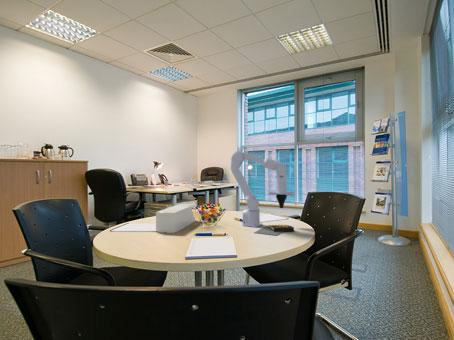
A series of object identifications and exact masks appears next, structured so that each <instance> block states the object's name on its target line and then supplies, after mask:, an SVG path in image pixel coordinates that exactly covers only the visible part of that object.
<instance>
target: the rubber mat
mask: <svg viewBox="0 0 454 340" xmlns="http://www.w3.org/2000/svg"><path fill="white" fill-rule="evenodd" d="M283 232H284V231H277V232H274V231H273V230H272V229H271V228H270V227H269V226H267V225H265V226H263V227H262V228H260V229H258V230H256V231H255V232H254V234H260V235H268V236H275V237H277V236H279V235H280V234H282V233H283Z"/></svg>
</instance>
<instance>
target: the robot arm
mask: <svg viewBox="0 0 454 340" xmlns="http://www.w3.org/2000/svg"><path fill="white" fill-rule="evenodd" d="M230 158H231V159H230V160H231V161H230V171H231V173H232V175H233V178H234V179H235V180H236V182H237V184H238V186H239V188H240V190H241V192H242V194H243V196H244V198H245V202H246V207H247V209H243V210H242V227H243V226H244V227H252V228H253V227H254V228H258V227H260V226H262V225H263V223H261V222H260V221H261V218H260V215H261V214H260V212H261V210H260V208H259V205H260V201H259V199H258V198H257V197H256V196H255V195H254V193H253V192H252V190H251V188H250V187H249V184H248V183H247V181H246V179H245V176H244V175H243V173H242V171H241V166H242V163H243V162H248V161H251V162H255V163H258V164H260V165H262V167H263V168H265V169H268V170H270V171H274V172H275V171H276V176H275V178H276V179H275V181H276V183H275V184H276V186H275V187H276V190H272V191H271V190H270V191H268V195H269V196H271V195H272V196H275V198H276V200H277V203H278V205H279V209H283V208H284V205H285V203H286V200H287V197H288V196H292V197H294V196H295V191H288V190H287V187H288V186H287V183H288V182H287V169H288V167H287V165H286V164H285V163H283V162H280V160H274V159H272V157H267V158H262V157H259V156H257V155H254V154H252V153H249V152H244V151H243V152H241V151H239V150H237V151H235V152H233V154H232V155H231V157H230Z"/></svg>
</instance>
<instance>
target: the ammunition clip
mask: <svg viewBox="0 0 454 340" xmlns="http://www.w3.org/2000/svg"><path fill="white" fill-rule="evenodd" d="M269 227H270V228H271V229H272V230H273V231H274V232H277V231H283V232H295V231H294V230H295V227H294V226H292V225H288V224H285V223H284V224H269Z"/></svg>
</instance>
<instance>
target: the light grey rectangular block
mask: <svg viewBox="0 0 454 340" xmlns="http://www.w3.org/2000/svg"><path fill="white" fill-rule="evenodd" d="M194 207H195V208H196V204H194V203H193V204H191V203H178V204H176V205H173V206H169V207H166V208H164V209H161V210H157V211H156V212H155V232H156V231H157V232H156V233H164V232H167V234H169V233H170V234H176V233H177V232H179V231H181V230H182V229H184V228H186V227H187V226H189V225H191V224H192V223H194V222H195V221H197V220H196V219H195V217H196V216H195V217H194V215H193V212H192V208H194ZM175 232H176V233H175Z"/></svg>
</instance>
